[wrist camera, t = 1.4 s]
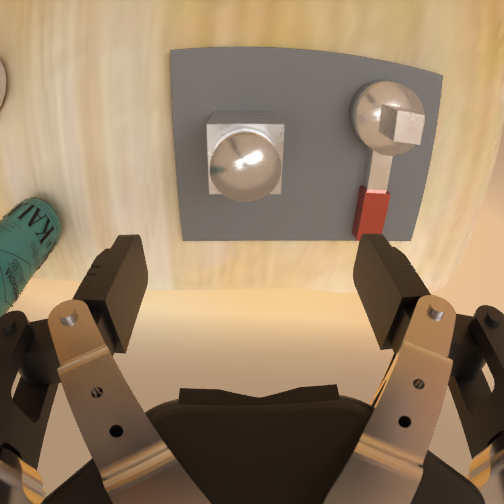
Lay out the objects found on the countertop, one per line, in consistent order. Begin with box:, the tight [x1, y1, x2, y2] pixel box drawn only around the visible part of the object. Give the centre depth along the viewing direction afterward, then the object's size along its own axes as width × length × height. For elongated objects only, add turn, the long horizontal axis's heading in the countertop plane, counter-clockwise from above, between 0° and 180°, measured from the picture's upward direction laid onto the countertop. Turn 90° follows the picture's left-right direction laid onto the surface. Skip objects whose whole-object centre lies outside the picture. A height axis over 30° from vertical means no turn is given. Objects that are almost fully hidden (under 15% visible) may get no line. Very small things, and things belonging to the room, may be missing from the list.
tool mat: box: [170, 47, 443, 241], centre depth 27 cm, size 24×18×1 cm
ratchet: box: [349, 80, 425, 240], centre depth 25 cm, size 6×15×5 cm, turn 179°
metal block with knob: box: [207, 111, 284, 202], centre depth 23 cm, size 5×5×8 cm
